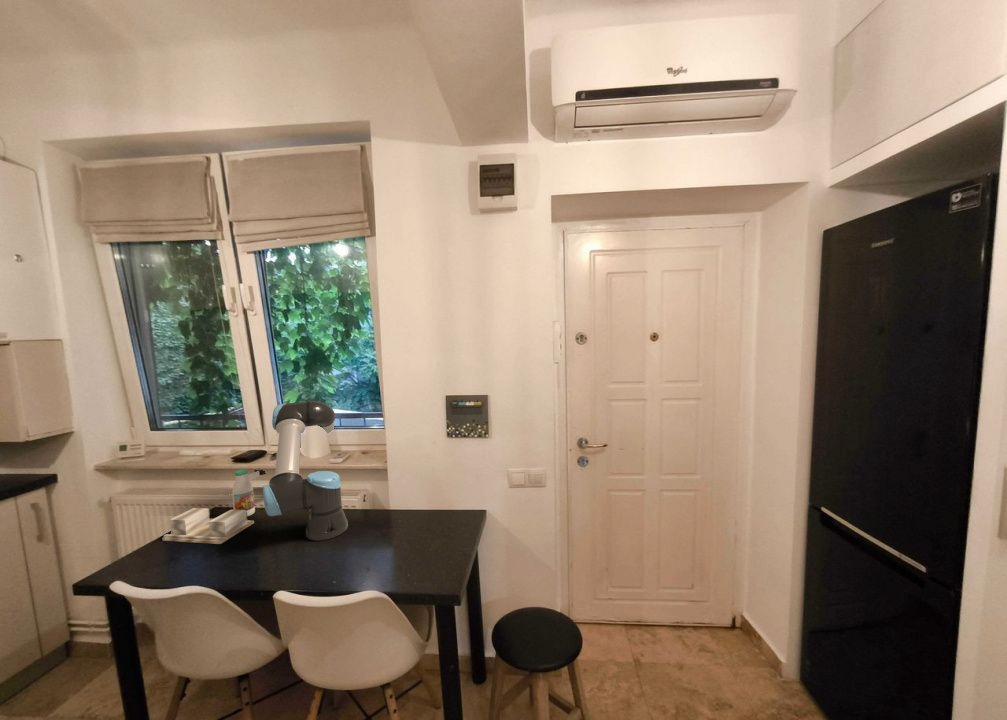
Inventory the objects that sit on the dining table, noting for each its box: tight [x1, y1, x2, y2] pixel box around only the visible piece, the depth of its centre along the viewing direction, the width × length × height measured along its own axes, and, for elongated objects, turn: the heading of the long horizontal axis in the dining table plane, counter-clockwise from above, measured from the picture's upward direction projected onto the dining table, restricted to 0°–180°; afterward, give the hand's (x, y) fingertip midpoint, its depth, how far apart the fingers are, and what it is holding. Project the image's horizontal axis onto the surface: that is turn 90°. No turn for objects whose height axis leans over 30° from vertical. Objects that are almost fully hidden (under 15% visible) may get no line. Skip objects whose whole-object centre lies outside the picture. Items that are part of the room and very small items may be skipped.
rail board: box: [162, 507, 255, 545], centre depth 152 cm, size 26×16×7 cm, turn 81°
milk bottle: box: [231, 468, 256, 517], centre depth 165 cm, size 8×8×20 cm
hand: (260, 479), depth 175 cm, fingers open, 13 cm apart
